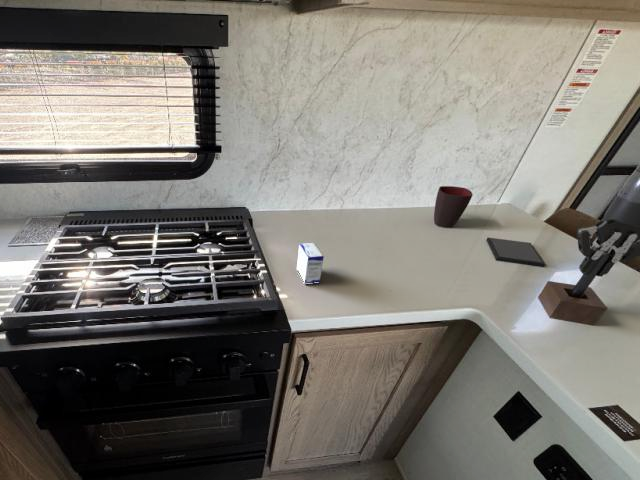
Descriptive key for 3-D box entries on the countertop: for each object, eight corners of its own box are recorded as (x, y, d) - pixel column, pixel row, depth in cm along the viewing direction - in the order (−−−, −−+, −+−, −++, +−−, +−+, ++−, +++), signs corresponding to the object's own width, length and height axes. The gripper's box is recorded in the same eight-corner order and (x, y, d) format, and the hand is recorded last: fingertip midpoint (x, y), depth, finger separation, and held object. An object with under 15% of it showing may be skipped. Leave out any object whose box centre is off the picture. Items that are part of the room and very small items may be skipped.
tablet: (529, 245, 109) (530, 242, 109) (543, 267, 99) (545, 263, 98) (486, 240, 113) (487, 237, 112) (495, 260, 102) (497, 257, 101)
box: (320, 283, 93) (324, 255, 88) (304, 285, 92) (307, 257, 87) (311, 268, 99) (314, 242, 94) (295, 270, 98) (298, 243, 93)
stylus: (571, 304, 82) (608, 252, 74) (574, 309, 81) (612, 256, 72) (561, 302, 83) (596, 250, 74) (564, 307, 81) (601, 255, 73)
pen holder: (578, 304, 85) (590, 287, 82) (594, 325, 78) (608, 308, 75) (537, 297, 87) (547, 280, 84) (549, 317, 81) (560, 300, 78)
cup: (430, 228, 120) (442, 194, 113) (424, 213, 131) (434, 181, 123) (462, 231, 118) (476, 197, 111) (452, 215, 129) (464, 183, 121)
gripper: (609, 199, 65) (559, 276, 75) (705, 208, 61) (638, 288, 72) (592, 187, 71) (547, 260, 81) (678, 194, 67) (620, 270, 77)
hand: (590, 273), depth 76 cm, fingers closed on stylus, 2 cm apart
